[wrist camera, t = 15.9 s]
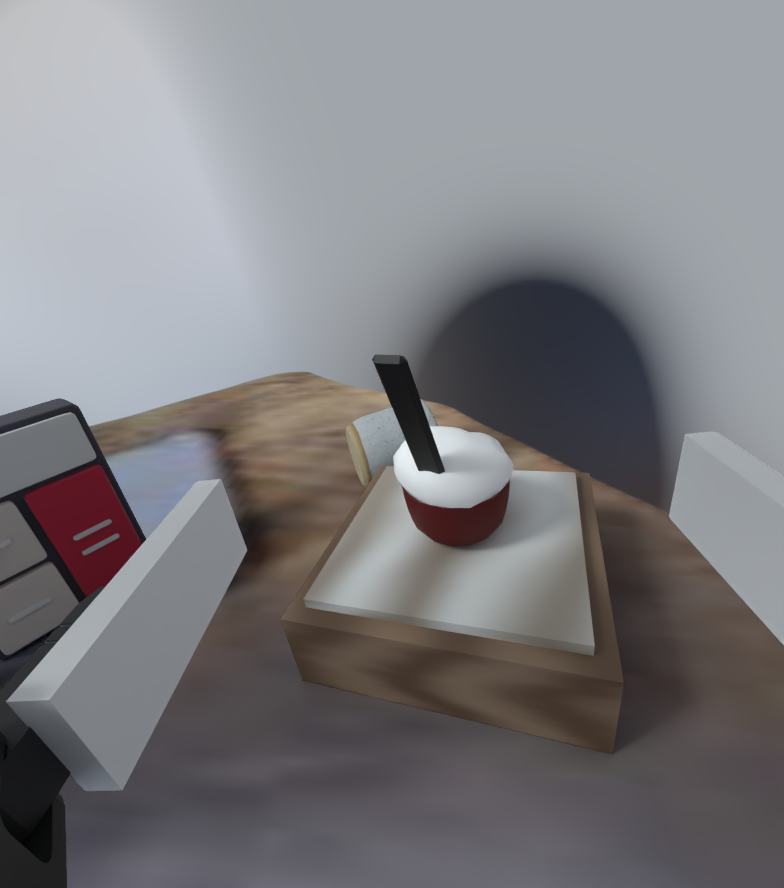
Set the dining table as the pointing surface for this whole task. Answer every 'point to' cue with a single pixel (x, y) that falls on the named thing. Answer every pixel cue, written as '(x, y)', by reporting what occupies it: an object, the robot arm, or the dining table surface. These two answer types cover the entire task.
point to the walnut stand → (470, 613)
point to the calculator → (55, 521)
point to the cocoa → (444, 467)
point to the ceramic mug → (377, 441)
